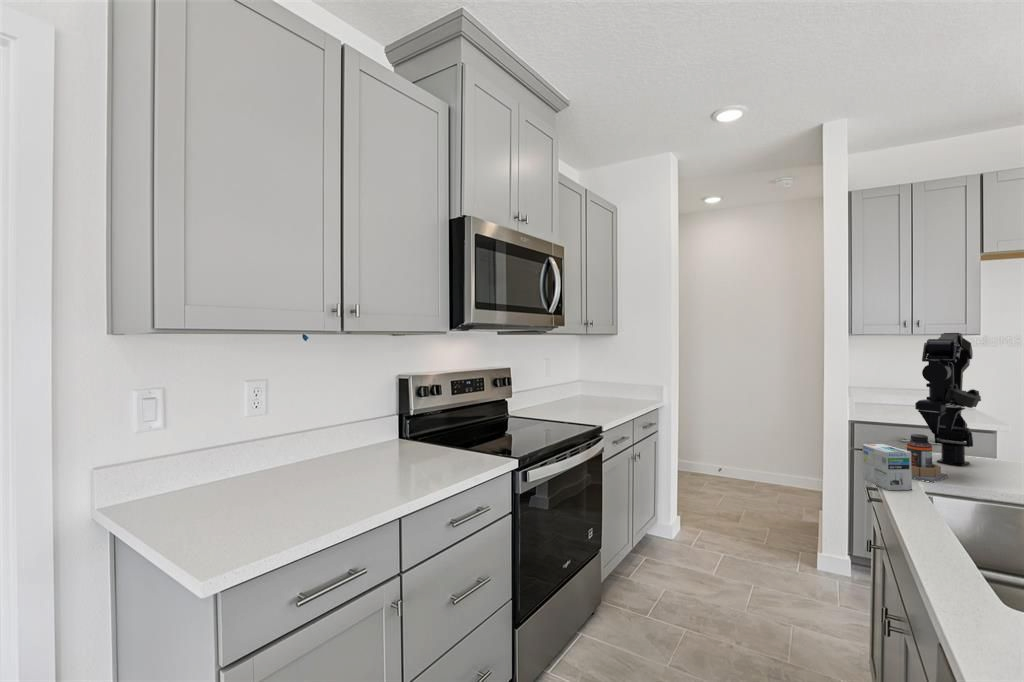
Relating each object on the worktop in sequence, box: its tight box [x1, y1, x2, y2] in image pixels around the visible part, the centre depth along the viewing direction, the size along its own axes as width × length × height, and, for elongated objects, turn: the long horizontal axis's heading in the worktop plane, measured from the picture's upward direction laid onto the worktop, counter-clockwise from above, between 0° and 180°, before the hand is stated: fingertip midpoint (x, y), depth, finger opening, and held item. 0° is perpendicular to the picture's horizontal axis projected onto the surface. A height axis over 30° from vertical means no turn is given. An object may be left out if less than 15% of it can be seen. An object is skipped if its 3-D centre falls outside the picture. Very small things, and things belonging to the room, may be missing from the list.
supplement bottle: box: [906, 433, 933, 468], centre depth 150 cm, size 6×6×11 cm
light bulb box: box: [862, 443, 913, 491], centre depth 143 cm, size 11×7×11 cm, turn 179°
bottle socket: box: [911, 462, 949, 483], centre depth 150 cm, size 10×10×4 cm
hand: (942, 431), depth 151 cm, fingers open, 9 cm apart
